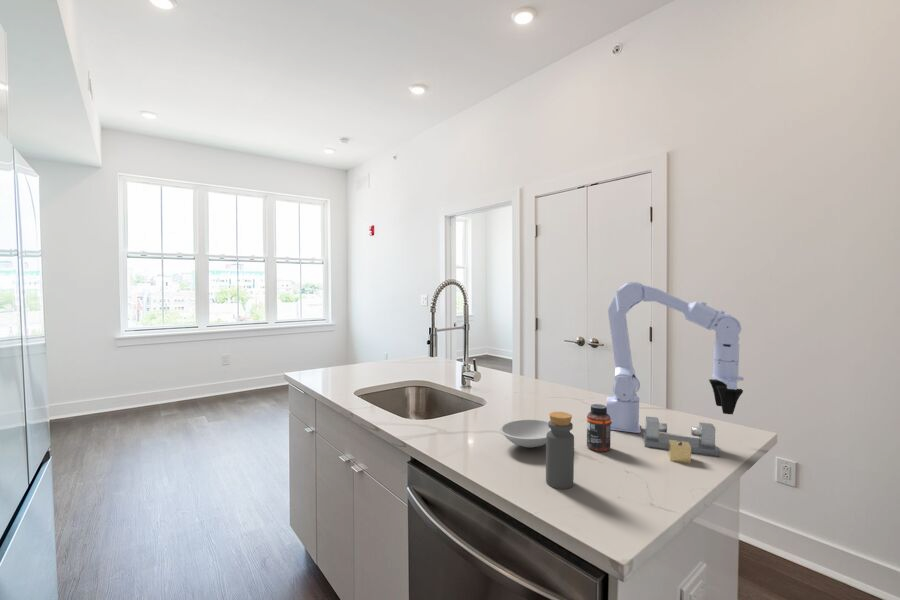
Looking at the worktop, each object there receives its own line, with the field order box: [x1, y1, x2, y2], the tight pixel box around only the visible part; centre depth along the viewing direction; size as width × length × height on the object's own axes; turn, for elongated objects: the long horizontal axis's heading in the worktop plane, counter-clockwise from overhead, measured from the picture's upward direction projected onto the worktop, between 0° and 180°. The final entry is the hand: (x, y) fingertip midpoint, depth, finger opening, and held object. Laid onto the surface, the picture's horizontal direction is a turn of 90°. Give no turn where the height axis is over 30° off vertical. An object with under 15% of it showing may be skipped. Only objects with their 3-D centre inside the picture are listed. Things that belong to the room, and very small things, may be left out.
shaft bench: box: [642, 416, 720, 457], centre depth 113 cm, size 17×8×6 cm, turn 68°
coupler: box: [667, 440, 692, 465], centre depth 104 cm, size 4×4×4 cm
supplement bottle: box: [586, 403, 612, 453], centre depth 111 cm, size 6×6×11 cm
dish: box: [498, 418, 551, 449], centre depth 112 cm, size 18×14×5 cm
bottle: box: [545, 411, 575, 490], centre depth 91 cm, size 6×6×15 cm
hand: (724, 409), depth 113 cm, fingers open, 7 cm apart
